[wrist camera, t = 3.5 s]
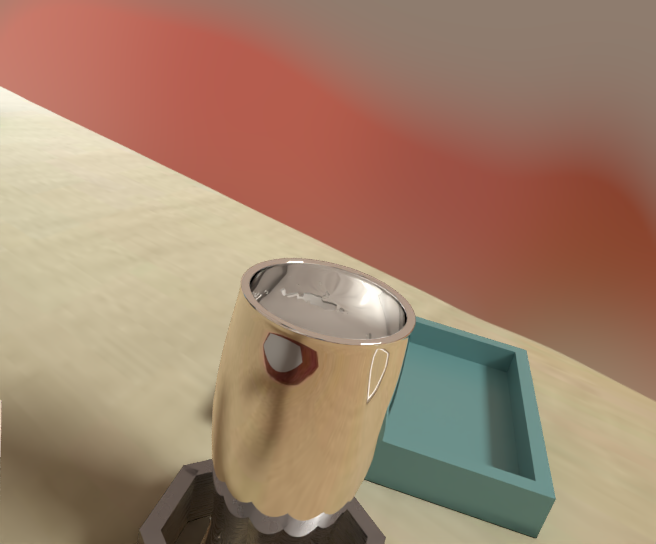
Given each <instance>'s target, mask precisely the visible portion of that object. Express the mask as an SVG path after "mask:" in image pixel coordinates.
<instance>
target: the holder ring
mask: <svg viewBox="0 0 656 544" xmlns="http://www.w3.org/2000/svg"><path fill="white" fill-rule="evenodd" d="M212 507H213V474H212V459H210V460H206V461H202V462H197V463H193V464H188V465H184V466H183V467H182V469H181V470H180V471H179V473H178V474H177V476H176V477H175V479H174V480H173V482H172V483H171V485H170V486H169V487H168V489H167V490H166V492H165V493H164V495H163V496H162V498H161V499H160V500H159V502H158V503H157V505H156V506H155V508H154V509H153V511H152V512H151V514H150V515H149V516H148V518H147V519H146V521H145V522H144V524H143V525H142V527H141V528H140V529H139V534H138V541H137V544H174V543H175V542H176V540H177V538H178V537H179V535H180V533H181V532H182V530H183V528H184V527H185V525H186V523H187V522H188V521H191V520H195V519H198V518H202V517H205V516H209V515H212ZM385 539H386V537H385V536H384V535H383V533H382V532H381V531H380V529H379V528H378V527H377V526H376V524H375V523H374V522H373V520H372V519H371V518H370V516H369V515H368V514H367V513H366V511H365V510H364V509H363V507H362V506H361V505H360V503H359V502H358V501H357V499H356V498H355V497H354V498H353V499H352V501H351V503H350V504H349V506H348V508H347V509H346V511H345V513H344V514H343V516H342V518H341V519H340V521H339V523H338V525H337V527H336V528H335V530H334V532H333V534H332V536H331V539H330V541H329V544H384V543H385Z"/></svg>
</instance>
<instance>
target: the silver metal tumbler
mask: <svg viewBox="0 0 656 544" xmlns="http://www.w3.org/2000/svg"><path fill="white" fill-rule="evenodd" d="M415 323H416V317H415V313H414V311H413V309H412V307H411V305H410V304H409V303H408V301H407V300H406V299H405V298H404V297H403V296H402V295H401V294H399V293H398V292H397V291H396V290H394V289H393V288H391V287H390V286H388V285H387V284H385V283H384V282H382V281H380V280H378V279H376V278H374V277H372V276H370V275H368V274H365V273H363V272H360V271H358V270H355V269H352V268H349V267H346V266H342V265H338V264H334V263H330V262H325V261H319V260H312V259H302V258H283V259H274V260H268V261H264V262H261V263H258V264H256V265H254V266H252V267H251V268H249V269H248V270H247V271H246V272H245V273H244V274H243V276H242V278H241V282H240V289H239V293H238V297H237V300H236V304H235V307H234V311H233V314H232V317H231V321H230V324H229V328H228V332H227V335H226V339H225V343H224V346H223V351H222V355H221V360H220V364H219V369H218V373H217V380H216V386H215V393H214V400H213V412H212V474H213V507H212V515H211V518H210V523H209V526H208V529H207V531H206V533H205V535H204V538H203V540H202V542H201V544H329V541H330V539H331V536H332V534H333V532H334V530H335V528H336V527H337V525H338V523H339V521H340V519H341V518H342V516H343V514H344V513H345V511H346V509H347V508H348V506H349V504H350V503H351V501H352V499H353V498H354V496H355V494H356V492H357V491H358V489H359V487H360V485H361V484H362V482H363V480H364V478H365V477H366V475H367V473H368V471H369V469H370V467H371V465H372V463H373V461H374V459H375V457H376V455H377V453H378V451H379V449H380V446H381V443H382V441H383V438H384V435H385V433H386V430H387V427H388V425H389V422H390V419H391V416H392V412H393V409H394V405H395V402H396V399H397V395H398V392H399V388H400V383H401V379H402V375H403V371H404V367H405V362H406V357H407V353H408V348H409V344H410V339H411V335H412V332H413V329H414V327H415Z"/></svg>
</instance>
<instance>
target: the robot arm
mask: <svg viewBox="0 0 656 544" xmlns="http://www.w3.org/2000/svg"><path fill="white" fill-rule="evenodd" d="M0 455H1V400H0Z"/></svg>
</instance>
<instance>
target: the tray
mask: <svg viewBox="0 0 656 544" xmlns="http://www.w3.org/2000/svg"><path fill="white" fill-rule="evenodd" d="M415 317H416V316H415ZM364 479H365V480H368V481H371V482H374V483H377V484H380V485H383V486H385V487H388V488H391V489H394V490H397V491H400V492H403V493H406V494H409V495H412V496H415V497H417V498H420V499H423V500H426V501H429V502H432V503H435V504H438V505H441V506H444V507H447V508H449V509H452V510H455V511H458V512H461V513H464V514H467V515H470V516H473V517H476V518H479V519H481V520H484V521H487V522H490V523H493V524H496V525H499V526H502V527H505V528H508V529H511V530H513V531H516V532H519V533H522V534H525V535H528V536H531V537H534V538H537V536H538V534H539V532H540V530H541V528H542V526H543V524H544V522H545V520H546V518H547V516H548V514H549V512H550V510H551V508H552V505H553V503H554V501H555V499H556V498H555V493H554V488H553V483H552V478H551V473H550V468H549V463H548V458H547V453H546V448H545V442H544V437H543V432H542V427H541V422H540V417H539V412H538V407H537V402H536V397H535V392H534V387H533V382H532V376H531V371H530V366H529V361H528V356H527V351H526V350H524V349H520V348H517V347H514V346H511V345H507V344H504V343H501V342H498V341H494V340H491V339H488V338H485V337H481V336H478V335H475V334H471V333H468V332H465V331H462V330H458V329H455V328H452V327H449V326H445V325H442V324H439V323H436V322H432V321H429V320H426V319H423V318H419V317H416V323H415V327H414V329H413V332H412V335H411V339H410V344H409V348H408V353H407V357H406V362H405V367H404V371H403V375H402V379H401V383H400V388H399V392H398V395H397V399H396V402H395V405H394V409H393V412H392V416H391V419H390V422H389V425H388V427H387V430H386V433H385V435H384V438H383V441H382V443H381V446H380V449H379V451H378V453H377V455H376V457H375V459H374V461H373V463H372V465H371V467H370V469H369V471H368V473H367V475H366V477H365V478H364Z"/></svg>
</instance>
